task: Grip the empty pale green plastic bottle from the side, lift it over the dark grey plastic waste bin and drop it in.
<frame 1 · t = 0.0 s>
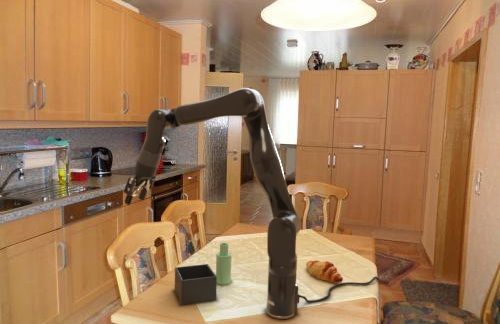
hand: (134, 201, 143), 31 cm above the table, tool tilted 20°, fingers open, 8 cm apart
bin: (194, 295, 139), on the table
croissant: (323, 276, 160), on the table
bottle: (223, 281, 151), on the table
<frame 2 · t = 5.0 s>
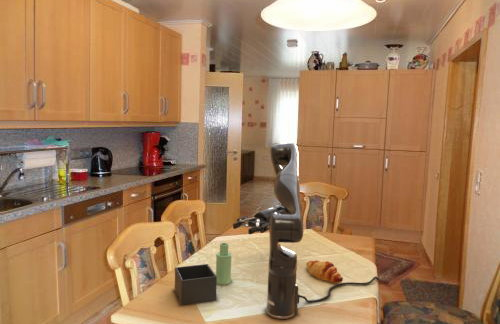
hand: (241, 229, 155), 19 cm above the table, tool horizontal, fingers open, 8 cm apart
nothing on the table moved.
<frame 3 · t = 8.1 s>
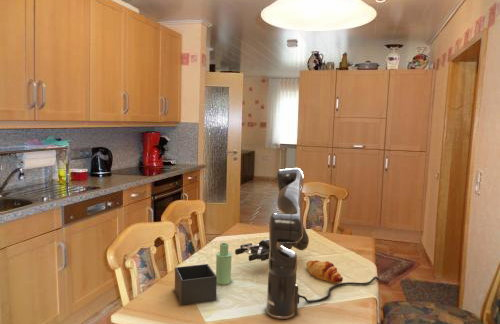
hand: (242, 255, 156), 9 cm above the table, tool horizontal, fingers open, 8 cm apart
nothing on the table moved.
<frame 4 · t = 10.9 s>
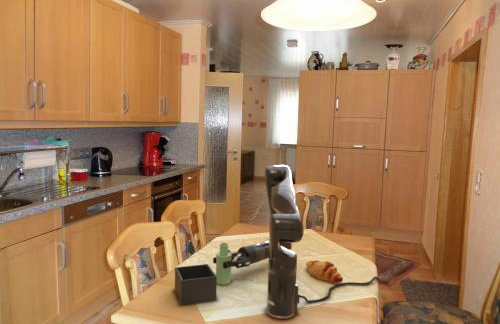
hand: (218, 263, 148), 8 cm above the table, tool horizontal, fingers closed on bottle, 5 cm apart
bottle: (223, 281, 151), on the table, touching gripper
everything else where it was.
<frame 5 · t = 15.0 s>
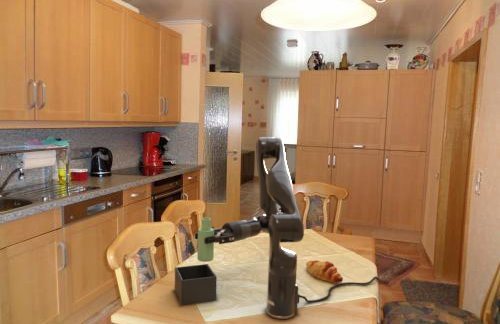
hand: (200, 238, 139), 20 cm above the table, tool horizontal, fingers closed on bottle, 5 cm apart
bottle: (205, 258, 142), point 12 cm above the table, touching gripper
everything else where it was.
when the fingers open (11 cm above the table, at t = 18.9 s): bottle drops 2 cm, point 1 cm above the table.
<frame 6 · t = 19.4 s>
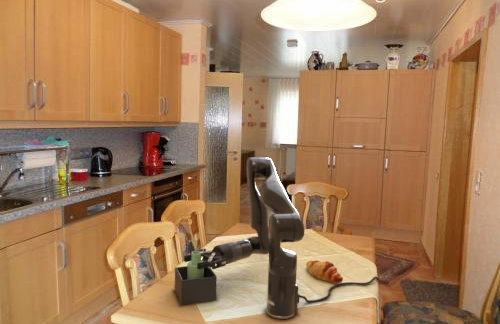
hand: (190, 262, 136), 12 cm above the table, tool horizontal, fingers open, 8 cm apart
bottle: (195, 293, 139), point 1 cm above the table
everything else where it was.
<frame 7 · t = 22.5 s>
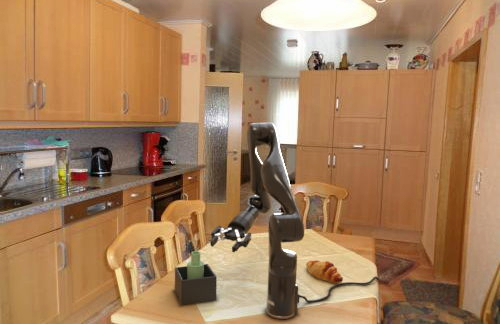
hand: (222, 247, 137), 18 cm above the table, tool tilted 75°, fingers open, 8 cm apart
bottle: (195, 293, 139), point 1 cm above the table, touching bin
everything else where it was.
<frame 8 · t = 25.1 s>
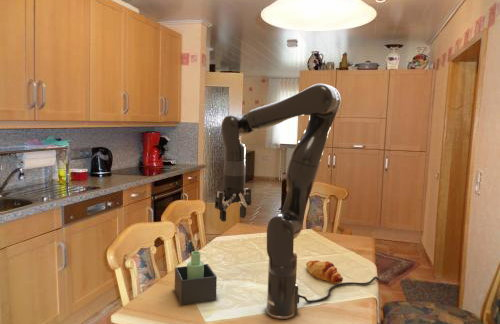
hand: (233, 219, 136), 28 cm above the table, tool pointing down, fingers open, 8 cm apart
nothing on the table moved.
at the end: bottle inside the target area in the bin (0.1 cm from its centre), point 0.6 cm above the bin's base; the gripper is holding nothing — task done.
